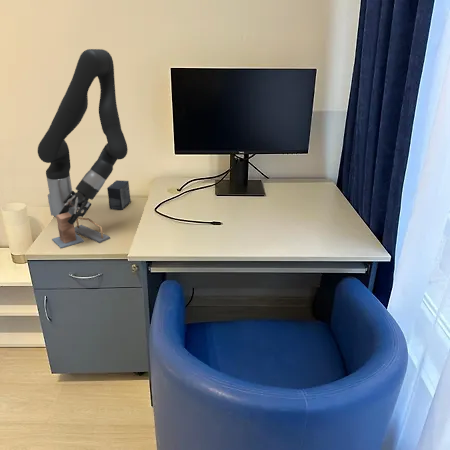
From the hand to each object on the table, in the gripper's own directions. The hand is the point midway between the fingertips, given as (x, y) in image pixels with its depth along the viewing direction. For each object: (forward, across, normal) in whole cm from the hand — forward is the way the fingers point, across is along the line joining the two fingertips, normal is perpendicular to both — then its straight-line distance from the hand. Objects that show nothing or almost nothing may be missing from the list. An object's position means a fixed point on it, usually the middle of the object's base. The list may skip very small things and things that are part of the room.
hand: (65, 219), depth 161 cm
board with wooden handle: (0, 0, +13) cm, 13 cm away
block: (+6, 0, +6) cm, 8 cm away
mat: (+6, 0, +6) cm, 9 cm away
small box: (-16, -20, +29) cm, 39 cm away
